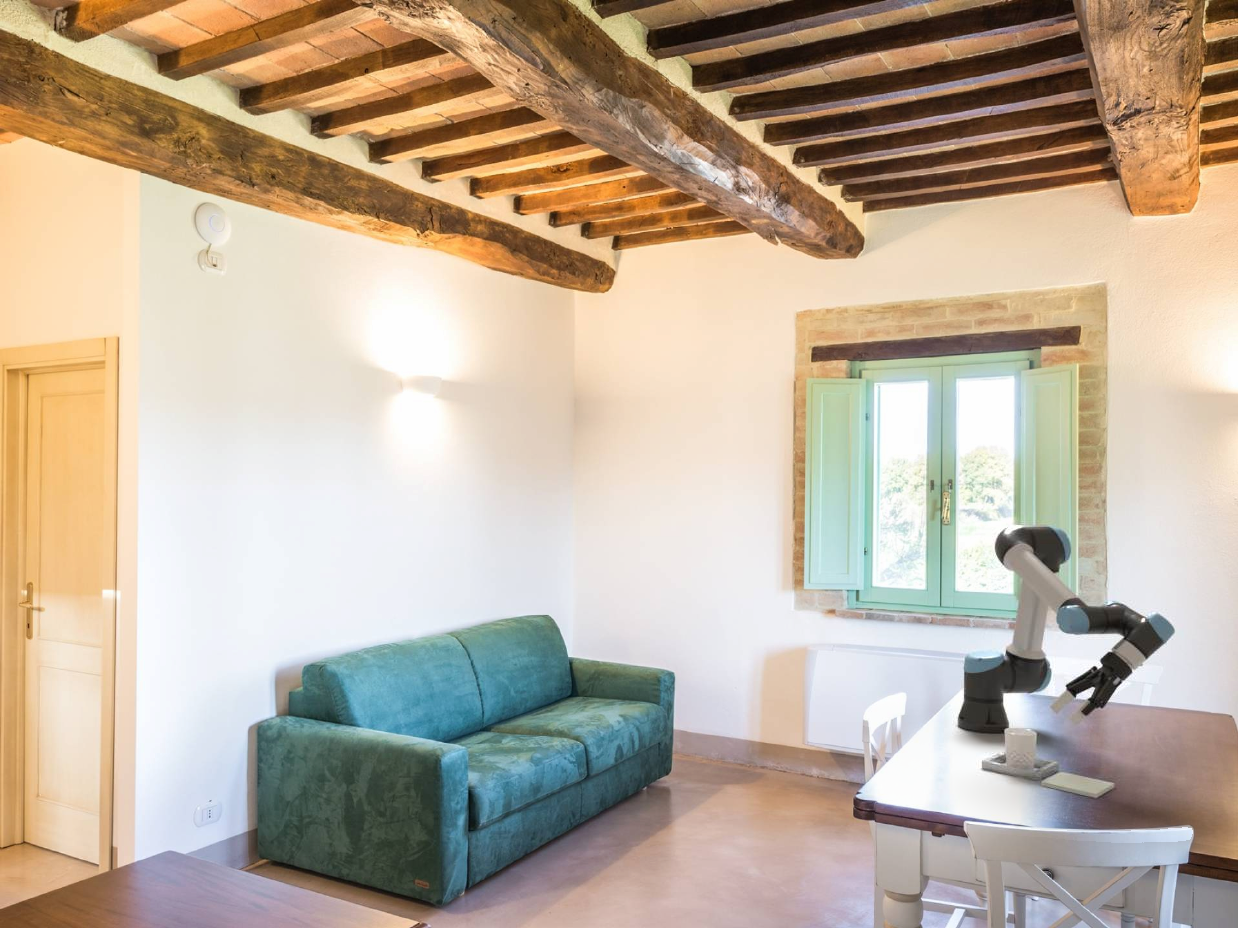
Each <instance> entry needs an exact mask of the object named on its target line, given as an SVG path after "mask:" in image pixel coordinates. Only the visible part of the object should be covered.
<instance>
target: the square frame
mask: <svg viewBox="0 0 1238 928" xmlns="http://www.w3.org/2000/svg"><path fill="white" fill-rule="evenodd" d="M1004 762H1006V750H1005V751H1002V752H999V753H997V754H995V755H992V756H990V757H988V758H985V759H982V760H981V769H984V770H988V771H992V772H996V773H997V772H998V773H1001V774H1005V775H1009V776H1013V777H1018V778H1023V779H1027V780H1032V781H1036V782H1038V781H1039V780H1041V779H1043V778H1046V777H1048V776H1050V775H1052V774H1054V773H1056V772H1058V771H1059V762H1058V761H1057V762H1056V761H1052V760H1048V759H1043V758H1038V757H1035V761H1034V767H1037V768H1038V769H1034V771H1032V770H1027V769H1023V768H1018V767H1014V766H1009V765H1006V764H1005V763H1004Z"/></svg>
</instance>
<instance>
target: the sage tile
mask: <svg viewBox="0 0 1238 928" xmlns="http://www.w3.org/2000/svg"><path fill="white" fill-rule="evenodd" d="M1040 785H1041V786H1042V787H1046V788H1051V789H1055V790H1059V791H1065V792H1068V793H1072V794H1076V795H1081V796H1085V797H1090V798H1093V799H1097V798H1099V797H1100V796H1103V795H1104V794H1106V793H1108V792H1109V791H1111V790H1113V789H1114V788H1115V783H1114V782H1109V781H1105V780H1102V779H1101V780H1100V779H1098V778H1097V779H1096V778H1091V777H1086V776H1083V775H1078V774H1073V773H1068V772H1063V771H1060V772H1057V773H1056V774H1053V775H1051V776H1049V777H1047V778H1045V779H1044V780H1041V782H1040Z"/></svg>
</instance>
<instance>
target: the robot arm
mask: <svg viewBox="0 0 1238 928" xmlns="http://www.w3.org/2000/svg"><path fill="white" fill-rule="evenodd" d="M994 550H995V555H996V558H997V559H998V561H999V562H1000V564H1001V565H1002V566H1003V567H1004V568H1006V570H1008V571H1010V572H1014V573H1015V574H1016V575H1017V576H1018V577H1019V578H1021V583H1020V588H1019V589H1020V590H1019V596H1018V603H1017V609H1016V616H1015V621H1014V622H1015V623H1014V630H1013V637H1012V643H1010V644H1008V645H1007V646H1006V647H1005V655H1004V653H1003V652H1001V651H998V650H977V651H972V652H969V653H968V654H966V655H965V657H964V663H963V676H964V677H963V702H962V704H961V707H960V710H959V713H958V716H957V726H958V727H960V728H962V729H964V730H968V731H973V732H979V733H987V734H1001V733H1005V729H1007V728H1010V722H1009V721H1010V720H1009V718H1008V715H1007V710H1006V708H1005V705H1004V694H1032V693H1039V692H1042V691H1045V689H1046V688H1047V687H1048V686H1049V684H1050V682H1051V680H1052V668H1051V663H1050V661H1049V660H1048V658H1047V654H1046V653H1045V651H1044V650H1043V649H1042V647H1043V642H1044V641H1043V640H1044V637H1045V636H1044V634H1045V630H1046V624H1047V623H1046V622H1047V615H1048V608H1050V609H1051V610H1052V611H1053V612H1054V614H1056V618H1055V619H1056V620H1055V621H1056V624H1057V625H1058V628H1059V630H1060V631H1061V632H1063V633H1065V634H1067V635H1077V636H1080V635H1081V636H1083V635H1119V636H1121V637H1123V638H1121V639H1120V640H1119V641H1118V642H1117V643H1116V644H1115V645H1114V646H1113V647H1112V648H1110V649H1111V650H1110V651H1108V652H1107V653H1106V654H1104V655H1103V656H1102V657H1101V658H1100V659H1099V662H1100V664H1101V665H1102V666H1101V667H1100V668H1099V667H1097V666H1096V665H1094V666H1092V667H1090V668H1089V669H1088V670H1087V671H1085V672H1083V674H1080V675H1079V676H1077V677H1076V678H1074V679H1073V680H1071V681H1070V682H1068V683H1066V684H1065V687H1066V689H1065V691H1063V692H1062V693H1061V694H1060V695H1059V696H1058V697H1057V698H1056V699H1055V700H1053V701H1052V702H1051V704H1050V705H1048V706H1049V708H1050V709H1051V710H1053V712H1054V713H1055V714H1056V715H1058V714H1059V713H1060V712H1061V711H1062V710H1063V709H1064V708H1065V707H1067V705H1069V704H1070V703H1071V702H1072V701H1073V700H1074V699H1076V698H1077V696H1078V695H1079V694H1081V693H1083V692H1085V691H1087V690H1089V689H1092V688H1093V692H1092V694H1091V696H1090V697H1087V698H1086V700H1085V701H1084V702H1083V703H1082V704H1081V705H1079V707H1078V708H1077V709H1076V710H1075V711H1073V712H1072V713H1071V714H1070V715H1069V716H1068V719H1069V721H1071V722H1072V723H1073V724H1074V725H1075V726H1076V727H1077V726H1079V725H1080V724H1081V723H1082V722H1083V721H1084V720H1085V719H1086V718H1087V717H1088V716H1089V715H1090V714H1092V713H1093V712H1094V711H1095V710H1096V709H1097V710H1098V709H1101V710H1102V709H1104V708H1105V707H1106V705H1107V704H1108V702H1109V701H1110V699H1111V698H1112V696H1113V695H1114V693H1115V691H1116V690H1117V689H1118V687H1120V685H1122V684H1123V681H1124V682H1125V680H1126V679H1128V678H1129V677H1130V676H1131V675H1132V674H1133V671H1136V670H1137V669H1138V668H1139V667H1143V665H1144V663H1145V662H1146V661H1148V659H1149V658H1150V657H1151V656H1152V655H1153V654H1154V653H1156V652H1157V651H1158V650H1159V649H1160V648H1161V647H1162V646H1164V645H1165V644H1167V642H1168V641H1169V640H1170V638H1172V637H1173V635H1174V634H1175V632H1176V630H1175V627H1174V625H1173V624H1172V623H1171V622H1170V621H1169V620H1168V619H1167V618H1166V617H1164V616H1163V615H1161V614H1160V613H1158V612H1155V611H1153V612H1152V611H1151V612H1150V613H1148V614H1146V616H1144V615H1142V614H1140V613H1139V612H1137V611H1136V610H1134V609H1132V608H1131V607H1129V606H1127V604H1123V603H1120V602H1119V601H1116V600H1108V601H1107V602H1104V603H1103V604H1101V606H1100V605H1097V606H1096V605H1094V606H1093V605H1087V603H1086V602H1085V601H1084V600H1082V599H1081V597H1079V596H1078V595H1077V594H1076V593H1075V592H1074V591H1073V590H1072V589H1070V587H1068V585H1066V584H1065V583H1064V582H1063V581H1062V580H1061V579H1060V578H1059V577H1058V576H1057V574H1058V573H1060V569H1061V565H1064V564H1065V563H1067V562H1068V561H1069V560H1070V557H1071V554H1072V545H1071V541H1070V538H1069V537H1068V535H1067V533H1066V532H1065V530H1063V529H1062V528H1060V527H1058V526H1053V525H1045V524H1044V525H1021V524H1017V525H1015V524H1014V525H1010V526H1008V527H1005V528H1004V529H1002V531H1000V532H999V533H998V535H997V537H996V538H995V542H994Z"/></svg>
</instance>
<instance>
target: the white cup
mask: <svg viewBox="0 0 1238 928" xmlns="http://www.w3.org/2000/svg"><path fill="white" fill-rule="evenodd" d="M1037 735H1038V732H1037V731H1034V730H1033V729H1032V730H1031V729H1027V728H1022V727H1021V728H1020V727H1009V728H1007V729H1005V732H1004V747H1005V748H1004V750H1005V751H1006V761H1005V763H1006V764H1005V765H1009V766H1014V767H1018V768H1023V769H1027V770H1032V771H1035V766H1034V761H1035V758H1036V753H1037V737H1038V736H1037Z"/></svg>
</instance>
